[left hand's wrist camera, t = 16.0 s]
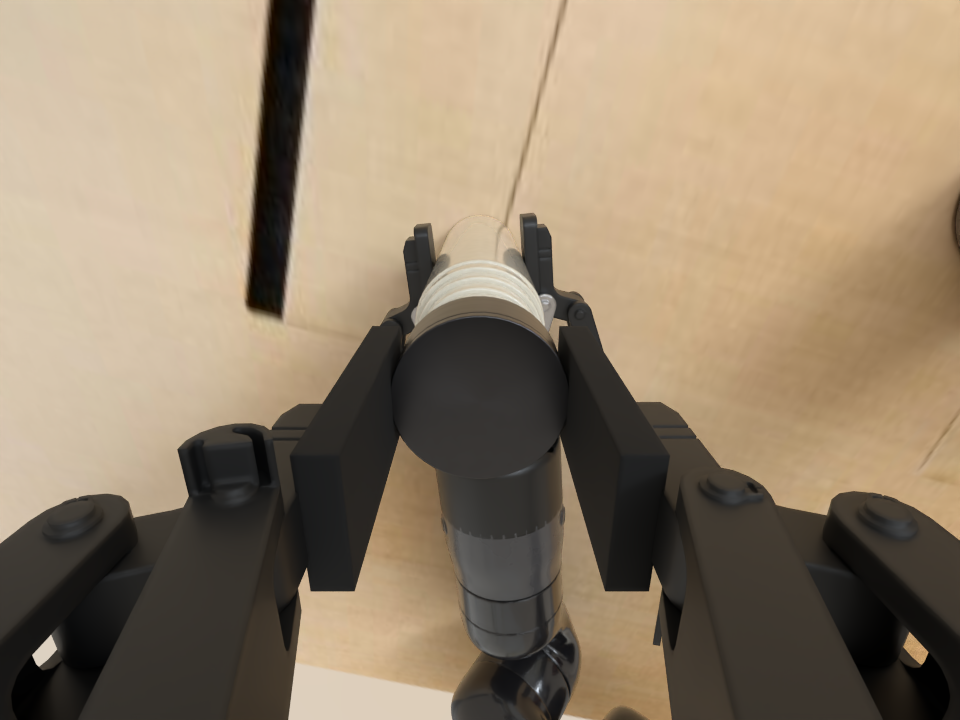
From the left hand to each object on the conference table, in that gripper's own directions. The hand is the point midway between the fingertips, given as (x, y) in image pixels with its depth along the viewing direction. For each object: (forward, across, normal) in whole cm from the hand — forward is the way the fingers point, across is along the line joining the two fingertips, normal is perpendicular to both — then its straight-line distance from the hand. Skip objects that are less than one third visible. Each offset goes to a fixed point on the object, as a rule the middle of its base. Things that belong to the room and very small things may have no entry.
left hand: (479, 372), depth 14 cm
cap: (-2, 0, 0) cm, 2 cm away
